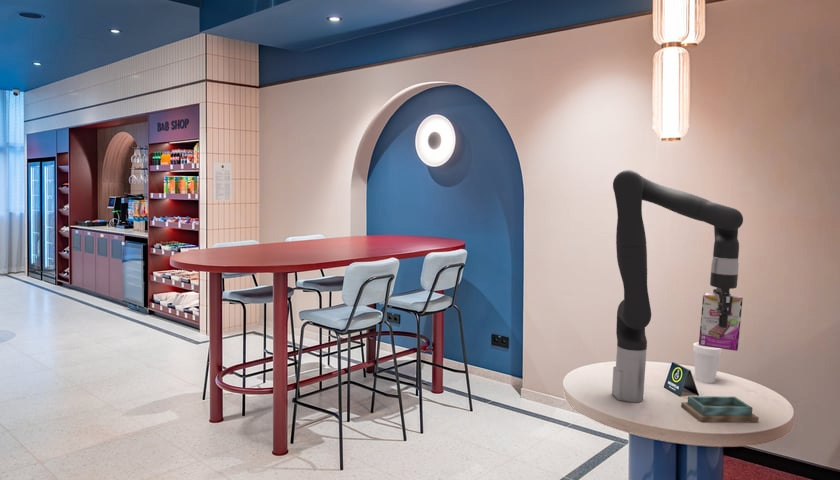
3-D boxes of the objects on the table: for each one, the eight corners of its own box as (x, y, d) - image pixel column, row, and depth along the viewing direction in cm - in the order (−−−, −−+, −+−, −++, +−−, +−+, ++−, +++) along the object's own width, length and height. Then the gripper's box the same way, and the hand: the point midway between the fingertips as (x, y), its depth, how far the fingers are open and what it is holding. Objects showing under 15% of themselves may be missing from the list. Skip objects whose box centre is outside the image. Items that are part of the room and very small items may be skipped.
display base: (700, 421, 181) (701, 409, 180) (681, 406, 193) (682, 394, 192) (758, 422, 182) (759, 409, 181) (735, 407, 194) (736, 395, 193)
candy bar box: (698, 346, 189) (702, 294, 188) (699, 342, 194) (703, 292, 192) (738, 351, 184) (742, 298, 182) (738, 347, 188) (742, 296, 187)
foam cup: (686, 379, 220) (689, 345, 218) (696, 374, 226) (699, 340, 225) (713, 386, 213) (716, 350, 212) (723, 381, 219) (726, 346, 218)
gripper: (744, 276, 179) (739, 331, 180) (731, 269, 192) (727, 321, 194) (716, 274, 180) (712, 329, 182) (706, 267, 194) (702, 319, 196)
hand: (720, 324), depth 188 cm, fingers closed on candy bar box, 5 cm apart
